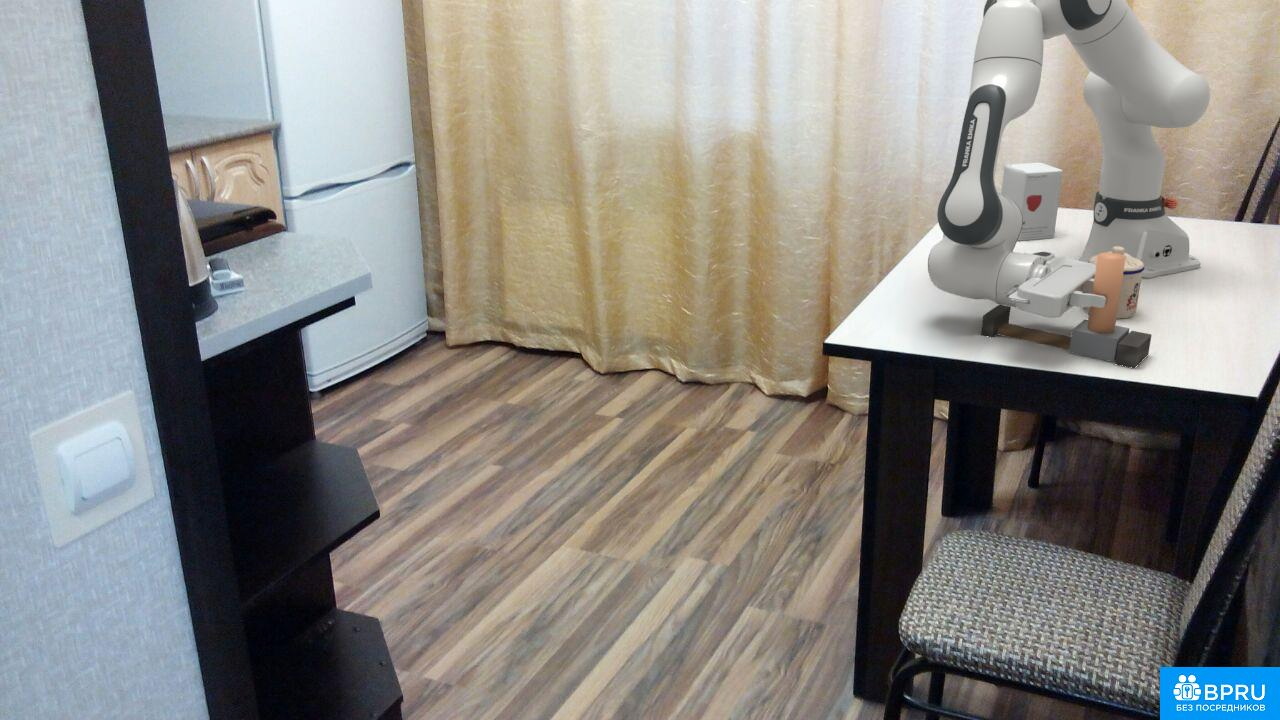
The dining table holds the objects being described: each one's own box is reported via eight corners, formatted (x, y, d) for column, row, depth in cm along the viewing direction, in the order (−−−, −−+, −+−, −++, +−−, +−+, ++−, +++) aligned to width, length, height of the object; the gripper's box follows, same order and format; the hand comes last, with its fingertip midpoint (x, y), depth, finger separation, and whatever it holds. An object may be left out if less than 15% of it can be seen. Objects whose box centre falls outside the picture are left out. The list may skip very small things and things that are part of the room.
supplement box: (1017, 241, 235) (1025, 172, 229) (995, 231, 243) (1002, 164, 237) (1055, 238, 237) (1064, 169, 231) (1032, 228, 245) (1040, 161, 239)
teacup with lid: (1137, 322, 188) (1148, 257, 183) (1080, 316, 191) (1089, 252, 187) (1136, 300, 198) (1146, 238, 194) (1082, 295, 201) (1091, 234, 197)
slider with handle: (1068, 352, 175) (1082, 257, 169) (1081, 341, 180) (1094, 248, 174) (1114, 361, 171) (1129, 264, 165) (1126, 350, 176) (1141, 255, 170)
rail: (980, 335, 184) (982, 315, 182) (997, 323, 189) (999, 304, 187) (1134, 368, 169) (1138, 347, 168) (1148, 355, 174) (1151, 334, 173)
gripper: (1001, 278, 171) (1092, 295, 163) (1048, 248, 186) (1133, 262, 177) (997, 317, 173) (1086, 335, 165) (1044, 284, 188) (1128, 299, 180)
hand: (1111, 297), depth 171 cm, fingers closed on slider with handle, 4 cm apart
